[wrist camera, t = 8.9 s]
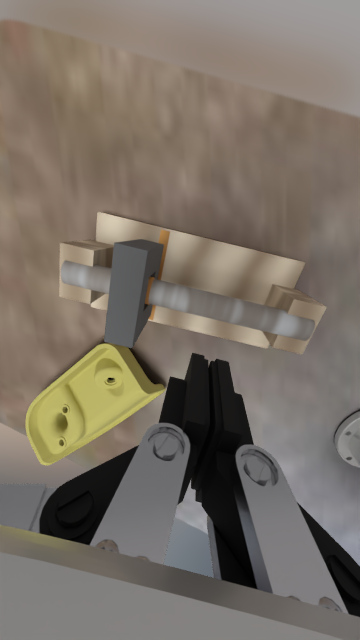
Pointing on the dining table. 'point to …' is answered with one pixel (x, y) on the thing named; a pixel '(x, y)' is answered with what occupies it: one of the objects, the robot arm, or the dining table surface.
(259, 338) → the pipe stand
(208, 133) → the dining table surface
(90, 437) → the plastic component
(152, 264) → the collar
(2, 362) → the dining table surface
